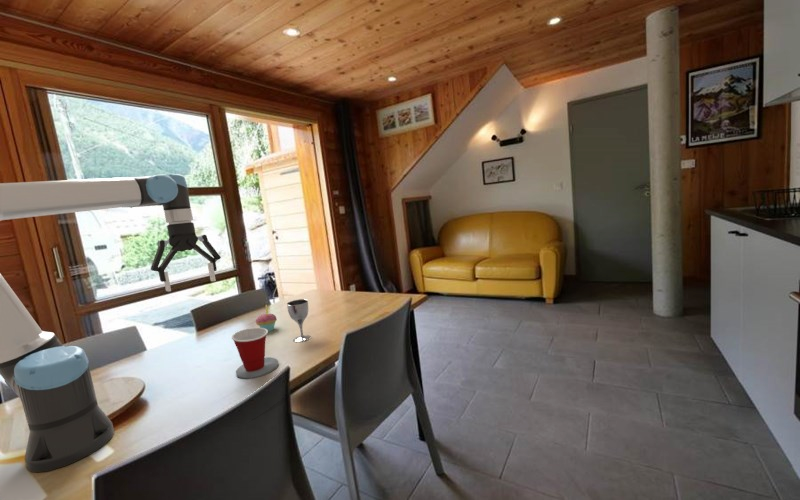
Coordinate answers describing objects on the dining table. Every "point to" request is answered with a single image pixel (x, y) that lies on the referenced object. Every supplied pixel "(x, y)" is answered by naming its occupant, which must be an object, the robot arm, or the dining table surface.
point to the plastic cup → (251, 347)
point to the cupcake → (266, 320)
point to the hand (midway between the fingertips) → (191, 285)
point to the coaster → (268, 367)
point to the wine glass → (299, 315)
